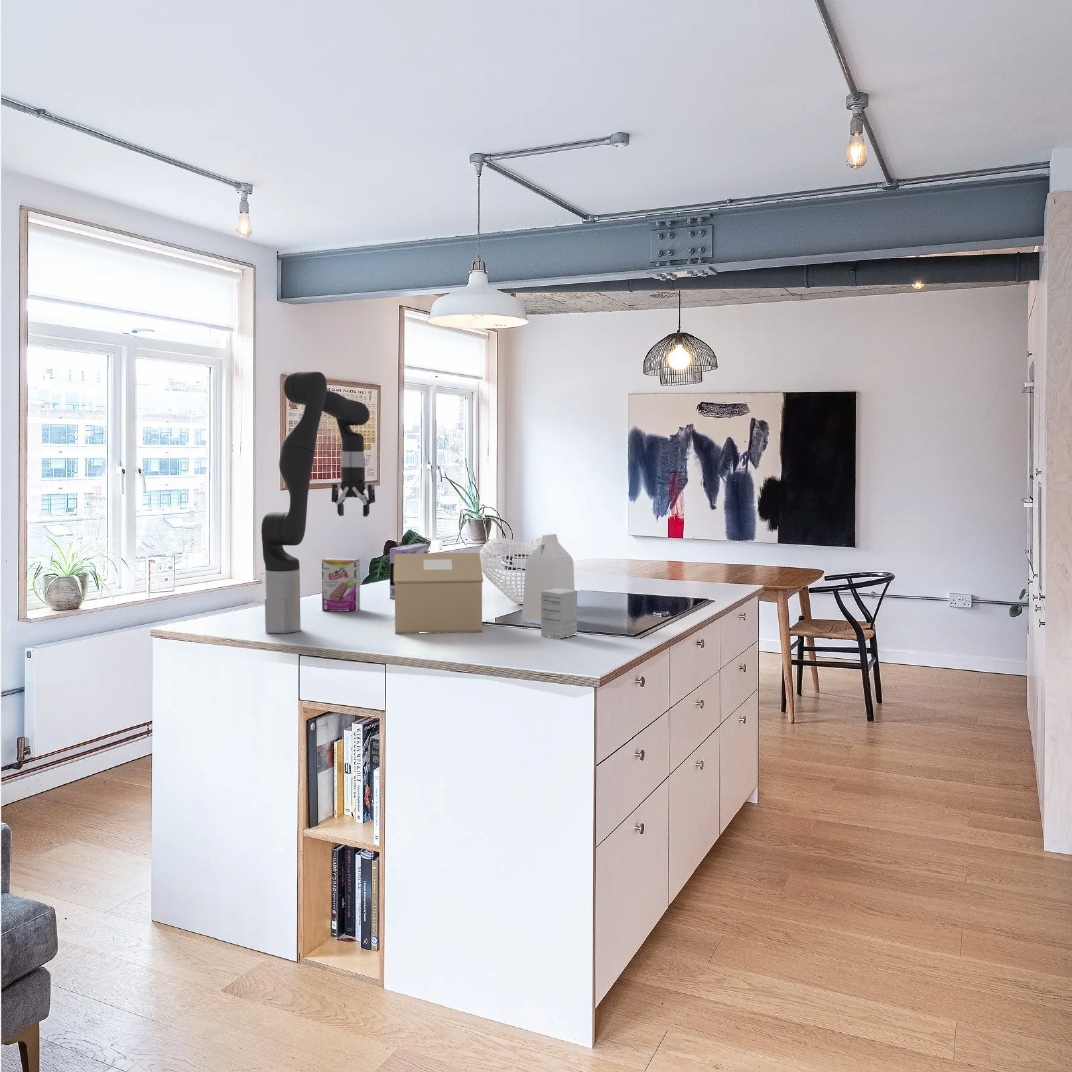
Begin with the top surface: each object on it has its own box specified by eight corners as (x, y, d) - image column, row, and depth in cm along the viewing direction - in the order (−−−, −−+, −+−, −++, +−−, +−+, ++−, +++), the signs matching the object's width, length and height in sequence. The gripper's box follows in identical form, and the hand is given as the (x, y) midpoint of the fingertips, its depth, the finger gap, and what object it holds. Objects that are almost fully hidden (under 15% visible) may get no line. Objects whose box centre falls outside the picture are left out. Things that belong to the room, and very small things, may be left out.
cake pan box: (399, 600, 322) (398, 548, 321) (386, 599, 324) (386, 547, 323) (429, 593, 339) (429, 543, 338) (417, 592, 342) (417, 543, 340)
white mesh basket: (477, 608, 306) (477, 539, 304) (480, 601, 321) (480, 535, 319) (564, 609, 306) (565, 540, 304) (563, 601, 321) (563, 536, 319)
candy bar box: (321, 611, 299) (320, 559, 298) (326, 608, 304) (325, 557, 303) (356, 612, 298) (355, 560, 297) (360, 609, 303) (360, 558, 302)
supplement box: (556, 632, 266) (556, 587, 265) (577, 635, 262) (578, 590, 260) (540, 636, 261) (540, 590, 259) (561, 639, 256) (561, 593, 255)
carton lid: (483, 581, 264) (483, 579, 264) (393, 583, 261) (393, 580, 261) (479, 554, 279) (479, 552, 278) (394, 555, 275) (394, 553, 275)
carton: (482, 632, 266) (482, 582, 264) (395, 633, 263) (394, 583, 261) (478, 622, 281) (478, 575, 280) (396, 623, 278) (395, 576, 277)
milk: (542, 616, 291) (542, 532, 289) (575, 620, 286) (576, 534, 283) (521, 622, 281) (522, 535, 279) (555, 626, 275) (556, 537, 273)
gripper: (327, 465, 304) (327, 516, 305) (368, 466, 300) (368, 517, 302) (338, 465, 311) (338, 515, 313) (378, 466, 307) (378, 516, 309)
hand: (353, 516), depth 307 cm, fingers open, 8 cm apart
